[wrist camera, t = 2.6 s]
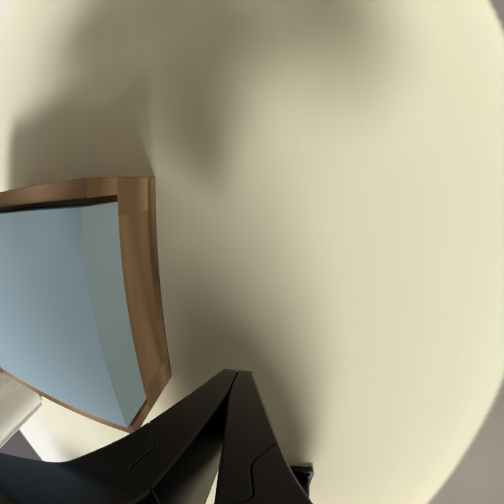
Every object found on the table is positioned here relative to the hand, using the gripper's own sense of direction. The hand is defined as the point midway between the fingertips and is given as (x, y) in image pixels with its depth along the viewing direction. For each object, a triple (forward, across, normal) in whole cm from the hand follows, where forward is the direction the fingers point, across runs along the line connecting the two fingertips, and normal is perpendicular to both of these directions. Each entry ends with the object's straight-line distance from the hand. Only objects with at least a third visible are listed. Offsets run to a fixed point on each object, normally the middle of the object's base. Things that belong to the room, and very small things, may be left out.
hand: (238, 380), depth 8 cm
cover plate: (+3, +12, 0) cm, 12 cm away
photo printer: (+7, +28, +15) cm, 32 cm away
